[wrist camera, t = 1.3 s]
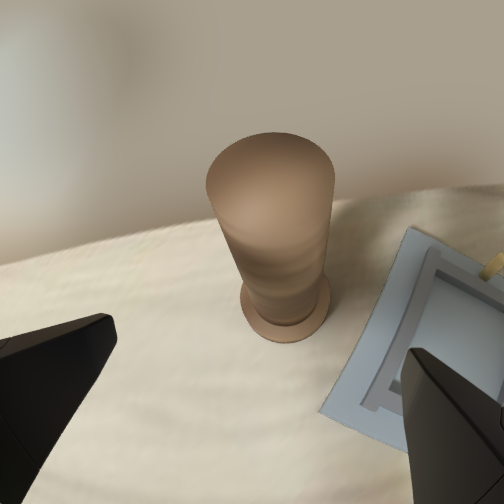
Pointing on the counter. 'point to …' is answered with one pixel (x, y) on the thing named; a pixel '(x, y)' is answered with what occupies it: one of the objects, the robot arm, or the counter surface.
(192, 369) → the counter surface
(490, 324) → the base plate
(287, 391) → the counter surface
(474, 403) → the robot arm
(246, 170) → the flanged spindle
